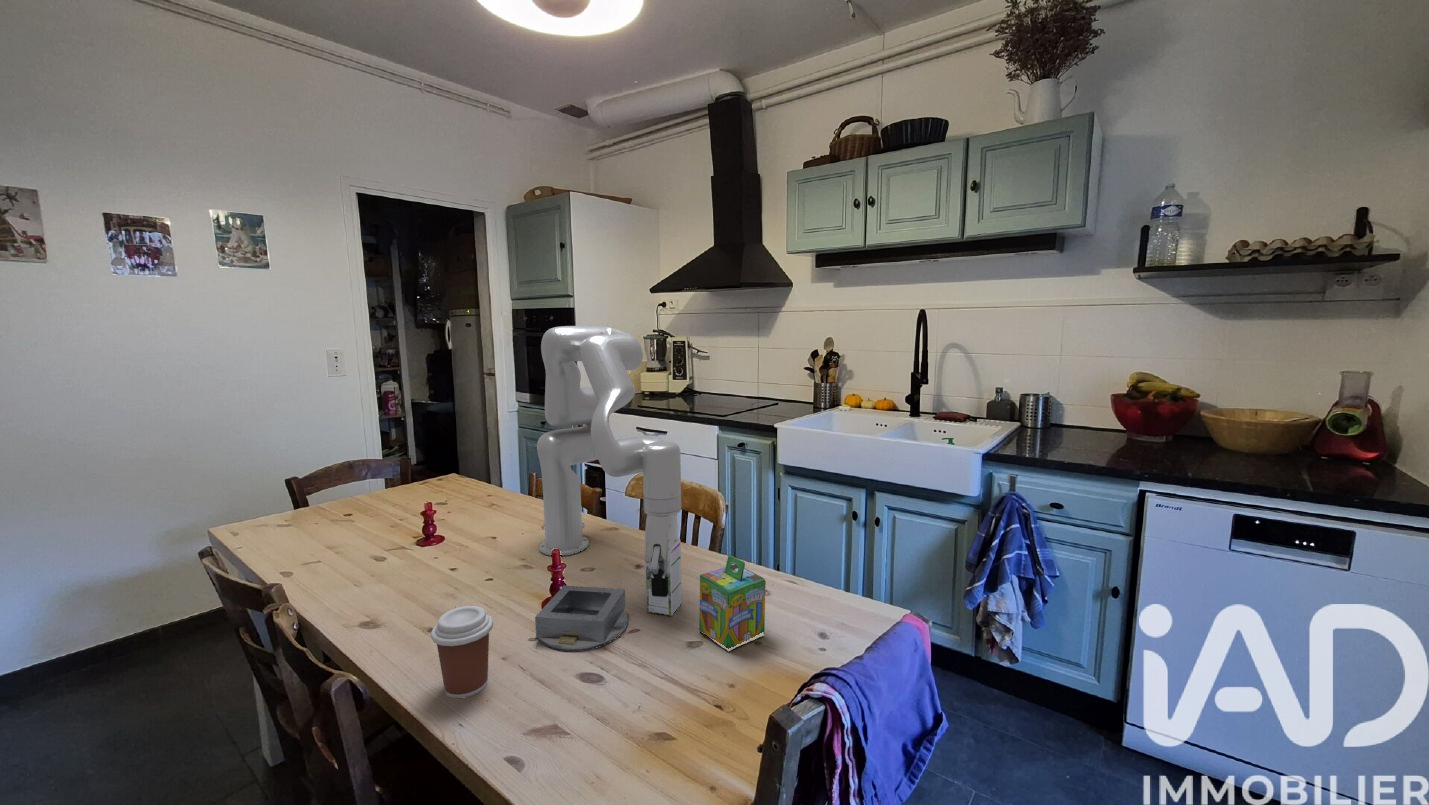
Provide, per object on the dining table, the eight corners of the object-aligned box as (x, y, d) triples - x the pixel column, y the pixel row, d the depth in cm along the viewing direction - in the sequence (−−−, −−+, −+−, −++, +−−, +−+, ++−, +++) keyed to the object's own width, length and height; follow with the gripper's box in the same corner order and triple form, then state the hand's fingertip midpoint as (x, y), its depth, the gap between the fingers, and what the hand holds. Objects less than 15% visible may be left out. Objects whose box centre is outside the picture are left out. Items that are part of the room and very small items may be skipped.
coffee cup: (486, 702, 87) (481, 629, 85) (425, 706, 86) (419, 632, 84) (503, 667, 96) (499, 601, 94) (448, 670, 95) (443, 603, 93)
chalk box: (698, 632, 107) (697, 558, 105) (735, 617, 112) (735, 546, 110) (728, 654, 99) (728, 574, 97) (766, 637, 105) (767, 561, 103)
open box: (559, 603, 118) (558, 580, 118) (637, 608, 116) (637, 585, 115) (521, 647, 102) (519, 621, 101) (611, 654, 99) (610, 628, 99)
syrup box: (682, 604, 117) (681, 537, 116) (671, 617, 112) (670, 548, 110) (657, 600, 119) (656, 534, 118) (645, 613, 114) (643, 544, 112)
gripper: (654, 490, 122) (656, 569, 124) (632, 516, 105) (634, 607, 107) (688, 491, 121) (689, 571, 123) (671, 518, 104) (672, 609, 106)
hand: (664, 587), depth 115 cm, fingers closed on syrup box, 6 cm apart
